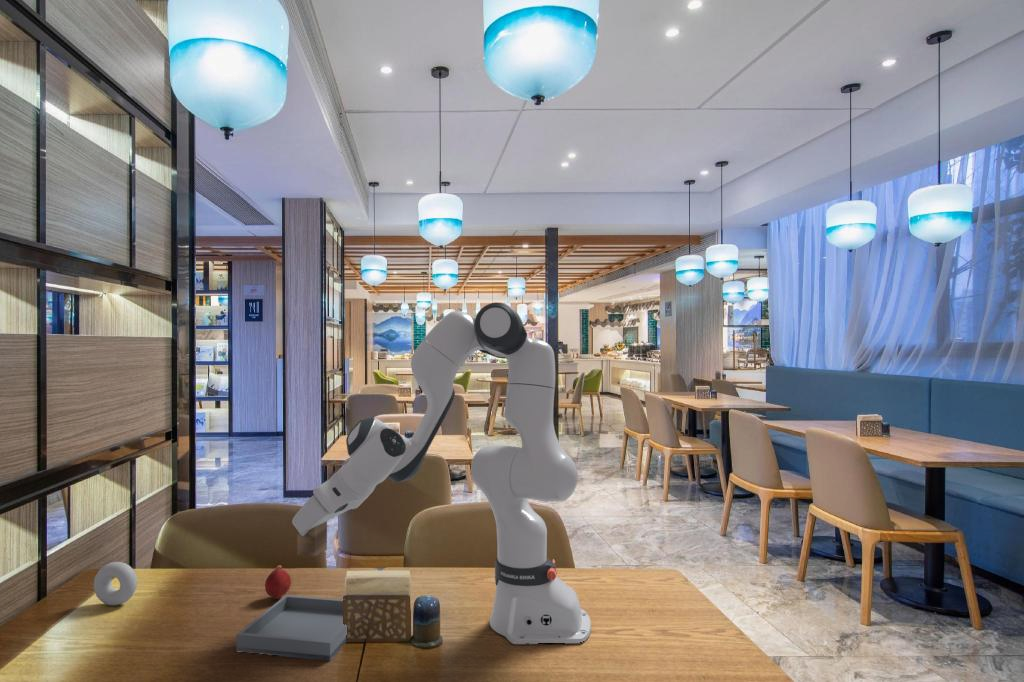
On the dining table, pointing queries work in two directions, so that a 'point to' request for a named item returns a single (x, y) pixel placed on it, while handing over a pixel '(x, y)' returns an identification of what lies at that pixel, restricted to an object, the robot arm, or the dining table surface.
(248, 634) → the tray
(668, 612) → the dining table surface
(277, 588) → the onion
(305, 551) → the walnut block
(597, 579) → the dining table surface
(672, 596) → the dining table surface
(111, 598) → the donut
